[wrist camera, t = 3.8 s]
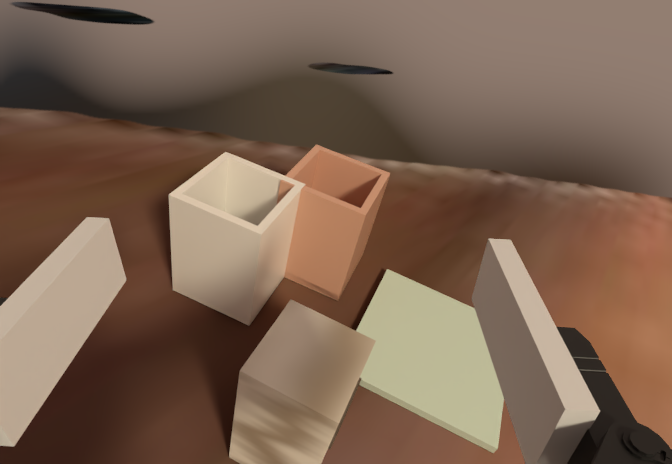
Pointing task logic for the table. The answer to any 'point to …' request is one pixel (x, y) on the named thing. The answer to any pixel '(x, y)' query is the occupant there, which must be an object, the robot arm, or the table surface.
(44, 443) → the table surface
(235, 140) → the table surface
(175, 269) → the white open box
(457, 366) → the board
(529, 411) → the robot arm
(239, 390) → the beige rectangular block
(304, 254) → the terracotta open box
